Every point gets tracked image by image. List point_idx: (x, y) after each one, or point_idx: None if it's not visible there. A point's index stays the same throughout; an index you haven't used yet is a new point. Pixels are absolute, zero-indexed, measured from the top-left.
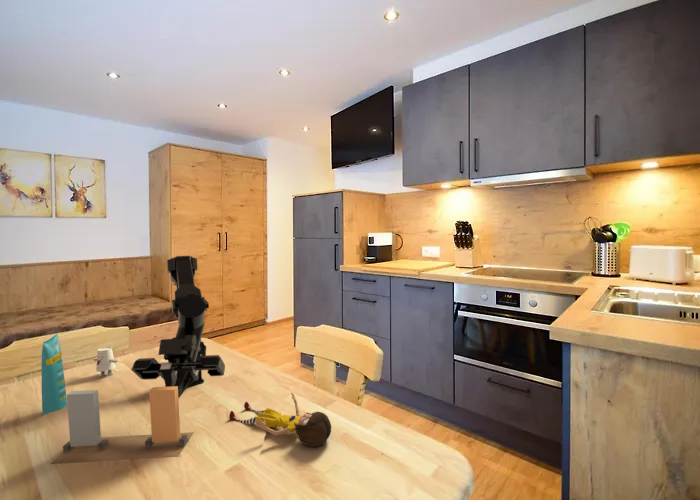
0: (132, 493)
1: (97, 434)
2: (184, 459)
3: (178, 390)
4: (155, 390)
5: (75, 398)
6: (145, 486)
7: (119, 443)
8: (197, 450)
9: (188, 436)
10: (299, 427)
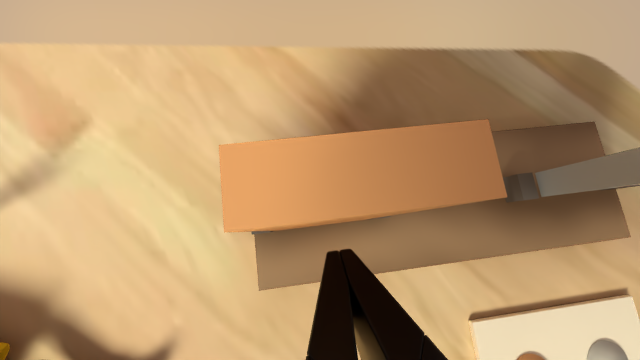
0: (304, 49)
1: (567, 174)
2: None
3: (310, 349)
4: (427, 127)
5: None
6: (287, 69)
7: (481, 214)
8: (215, 211)
9: (267, 262)
10: None
